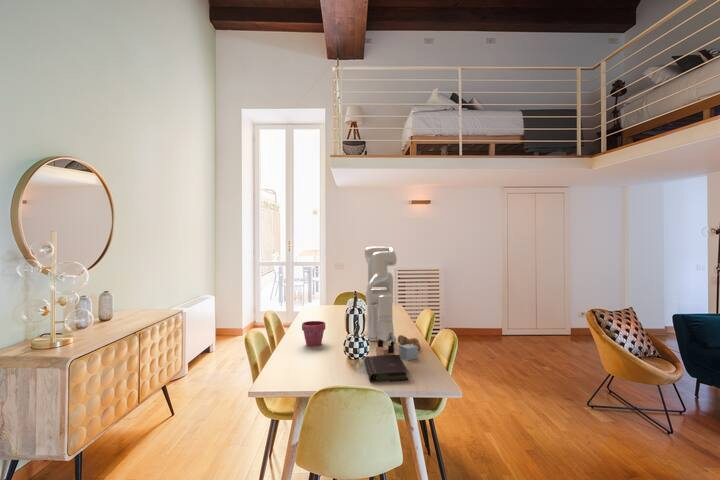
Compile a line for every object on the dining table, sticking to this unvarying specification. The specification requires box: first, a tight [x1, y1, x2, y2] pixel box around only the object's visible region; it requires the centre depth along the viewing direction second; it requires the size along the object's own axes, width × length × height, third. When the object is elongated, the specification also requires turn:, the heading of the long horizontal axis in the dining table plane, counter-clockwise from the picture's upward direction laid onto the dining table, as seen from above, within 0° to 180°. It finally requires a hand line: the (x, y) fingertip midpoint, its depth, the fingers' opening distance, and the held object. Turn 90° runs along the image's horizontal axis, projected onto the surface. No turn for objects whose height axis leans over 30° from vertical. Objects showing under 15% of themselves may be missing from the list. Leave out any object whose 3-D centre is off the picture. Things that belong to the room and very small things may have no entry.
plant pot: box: [301, 320, 326, 347], centre depth 235 cm, size 14×14×13 cm
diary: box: [363, 354, 410, 383], centre depth 186 cm, size 19×25×5 cm
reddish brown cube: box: [375, 345, 396, 356], centre depth 205 cm, size 7×7×6 cm
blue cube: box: [398, 344, 419, 361], centre depth 208 cm, size 7×7×6 cm
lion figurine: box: [397, 334, 422, 351], centre depth 222 cm, size 15×5×9 cm, turn 109°
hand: (385, 350), depth 205 cm, fingers open, 9 cm apart
